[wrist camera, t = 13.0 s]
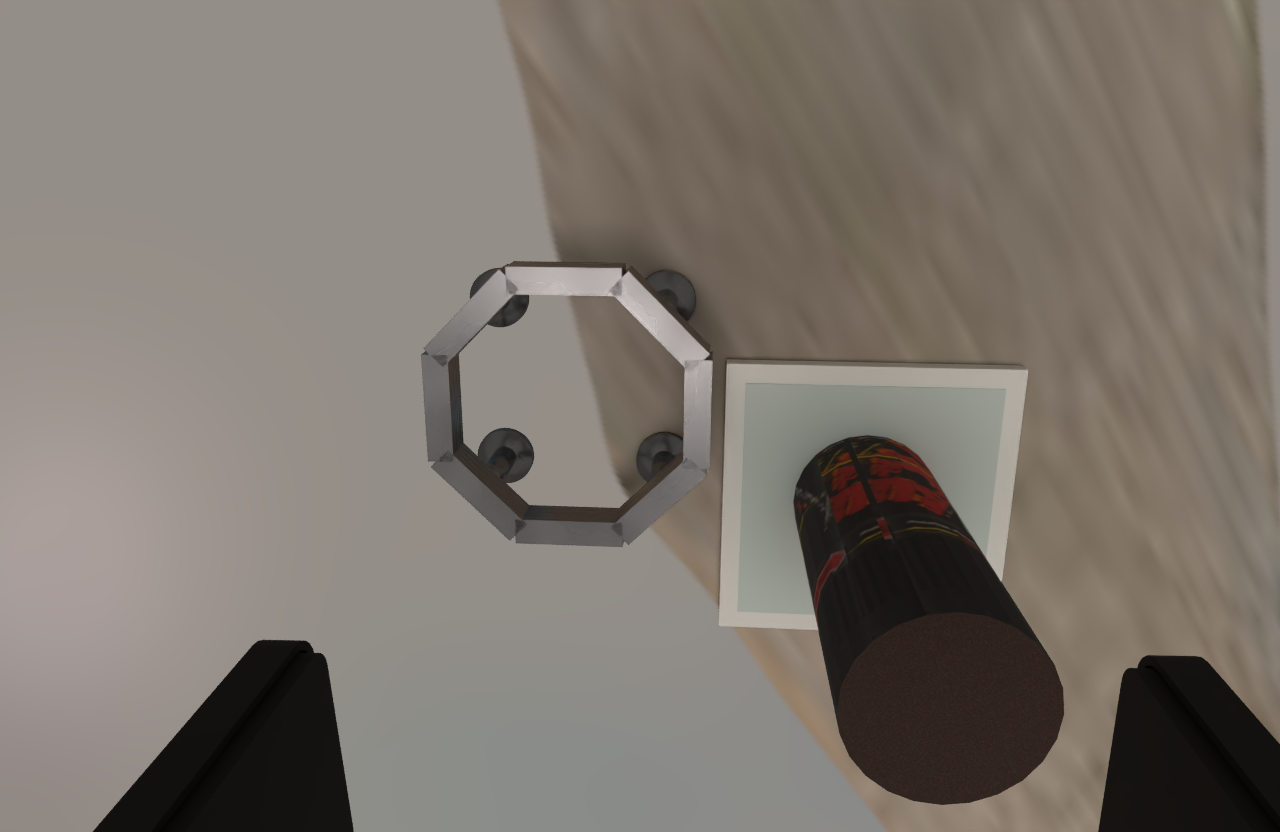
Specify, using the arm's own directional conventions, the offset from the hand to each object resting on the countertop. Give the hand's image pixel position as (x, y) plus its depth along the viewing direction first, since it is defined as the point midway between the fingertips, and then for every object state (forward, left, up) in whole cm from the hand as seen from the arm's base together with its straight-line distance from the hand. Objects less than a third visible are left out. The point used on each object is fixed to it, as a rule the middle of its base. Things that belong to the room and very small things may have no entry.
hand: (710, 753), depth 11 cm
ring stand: (+3, -6, -29) cm, 29 cm away
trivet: (+8, +6, -29) cm, 31 cm away
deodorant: (+8, +6, -28) cm, 30 cm away
